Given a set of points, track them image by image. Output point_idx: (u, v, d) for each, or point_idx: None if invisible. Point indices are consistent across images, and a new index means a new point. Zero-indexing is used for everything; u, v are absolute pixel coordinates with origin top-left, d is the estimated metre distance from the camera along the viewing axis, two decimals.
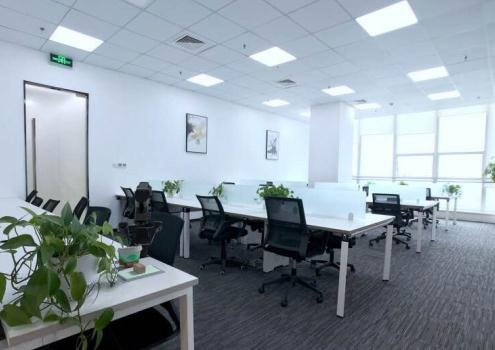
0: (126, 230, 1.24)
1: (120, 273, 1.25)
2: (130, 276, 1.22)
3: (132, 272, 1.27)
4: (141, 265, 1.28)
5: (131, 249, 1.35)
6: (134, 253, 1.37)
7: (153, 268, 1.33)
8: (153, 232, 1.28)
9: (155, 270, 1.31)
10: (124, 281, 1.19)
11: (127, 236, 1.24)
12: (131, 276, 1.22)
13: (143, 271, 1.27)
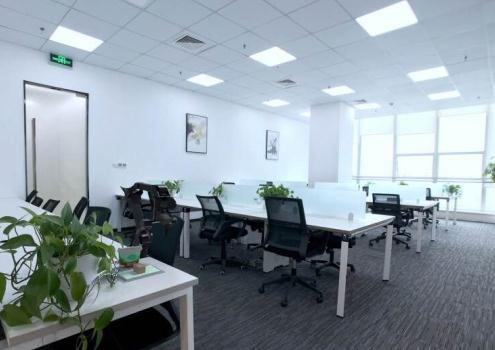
0: (150, 228, 1.40)
1: (120, 273, 1.25)
2: (130, 276, 1.22)
3: (132, 272, 1.27)
4: (141, 265, 1.28)
5: (131, 249, 1.35)
6: (134, 253, 1.37)
7: (153, 268, 1.33)
8: (169, 227, 1.49)
9: (155, 270, 1.31)
10: (124, 281, 1.19)
11: (150, 233, 1.41)
12: (131, 276, 1.22)
13: (143, 271, 1.27)
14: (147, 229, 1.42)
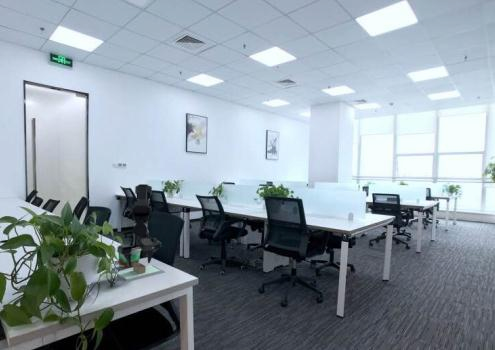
0: (129, 255, 1.23)
1: (120, 273, 1.25)
2: (130, 276, 1.22)
3: (132, 272, 1.27)
4: (141, 265, 1.28)
5: None
6: (134, 253, 1.37)
7: (153, 268, 1.33)
8: (152, 253, 1.32)
9: (155, 270, 1.31)
10: (124, 281, 1.19)
11: (129, 260, 1.24)
12: (131, 276, 1.22)
13: (143, 271, 1.27)
14: (126, 256, 1.25)
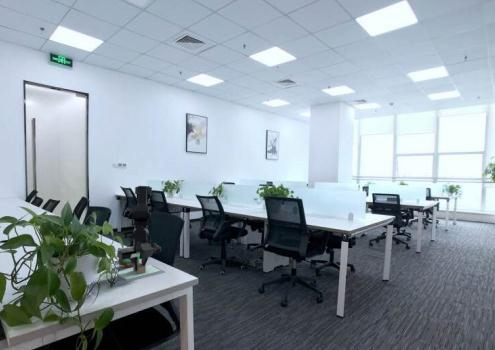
0: (135, 259, 1.25)
1: (120, 273, 1.25)
2: (130, 276, 1.22)
3: (132, 272, 1.27)
4: (141, 265, 1.28)
5: (131, 249, 1.35)
6: None
7: (153, 268, 1.33)
8: (146, 259, 1.30)
9: (155, 270, 1.31)
10: (124, 281, 1.19)
11: (135, 264, 1.26)
12: (131, 276, 1.22)
13: (143, 271, 1.27)
14: (132, 260, 1.27)
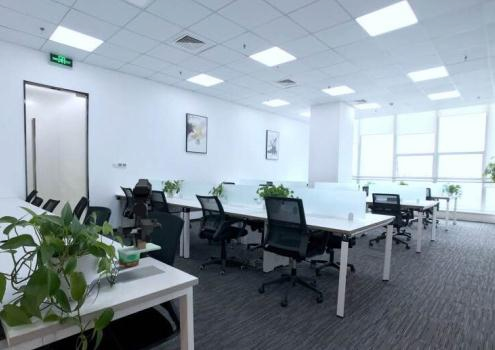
0: (136, 235, 1.26)
1: (121, 248, 1.26)
2: (131, 251, 1.23)
3: (132, 248, 1.27)
4: (141, 241, 1.29)
5: None
6: None
7: (153, 245, 1.34)
8: (147, 235, 1.30)
9: (155, 246, 1.32)
10: (124, 281, 1.19)
11: (136, 240, 1.27)
12: (131, 251, 1.23)
13: (143, 247, 1.28)
14: (133, 236, 1.28)
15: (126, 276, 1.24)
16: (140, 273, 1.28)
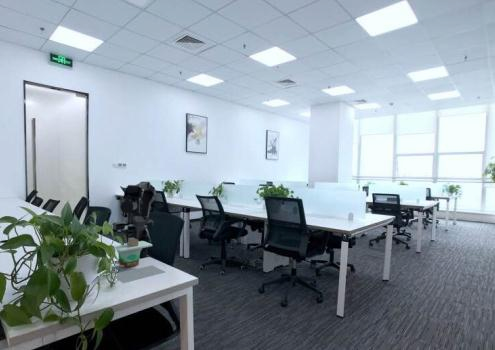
0: (127, 231, 1.34)
1: None
2: (124, 248, 1.32)
3: (125, 245, 1.36)
4: (134, 239, 1.38)
5: None
6: (134, 253, 1.37)
7: (146, 243, 1.43)
8: (141, 231, 1.40)
9: (147, 244, 1.41)
10: (124, 281, 1.19)
11: (127, 236, 1.35)
12: (124, 248, 1.32)
13: (136, 244, 1.37)
14: (124, 232, 1.36)
15: (126, 276, 1.24)
16: (140, 273, 1.28)
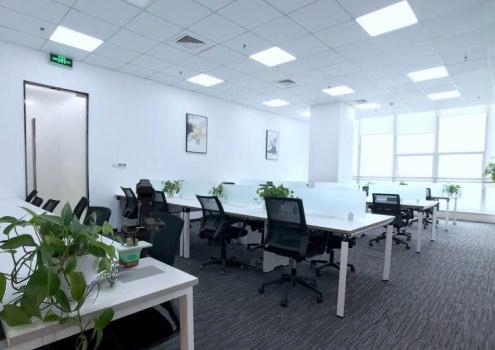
0: (134, 234, 1.27)
1: None
2: (123, 248, 1.32)
3: (125, 245, 1.36)
4: None
5: None
6: (134, 253, 1.37)
7: (145, 243, 1.43)
8: (156, 233, 1.36)
9: (147, 244, 1.41)
10: (124, 281, 1.19)
11: (134, 239, 1.28)
12: (124, 248, 1.32)
13: (136, 244, 1.37)
14: (131, 235, 1.29)
15: (126, 276, 1.24)
16: (140, 273, 1.28)
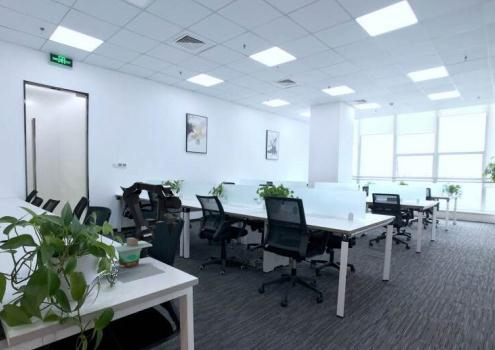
0: (154, 228, 1.42)
1: None
2: (123, 248, 1.32)
3: (125, 245, 1.36)
4: (134, 239, 1.38)
5: None
6: (134, 253, 1.37)
7: (145, 243, 1.43)
8: (173, 227, 1.51)
9: (147, 244, 1.41)
10: (124, 281, 1.19)
11: (154, 232, 1.43)
12: (124, 248, 1.32)
13: (136, 244, 1.37)
14: (151, 228, 1.44)
15: (126, 276, 1.24)
16: (140, 273, 1.28)
